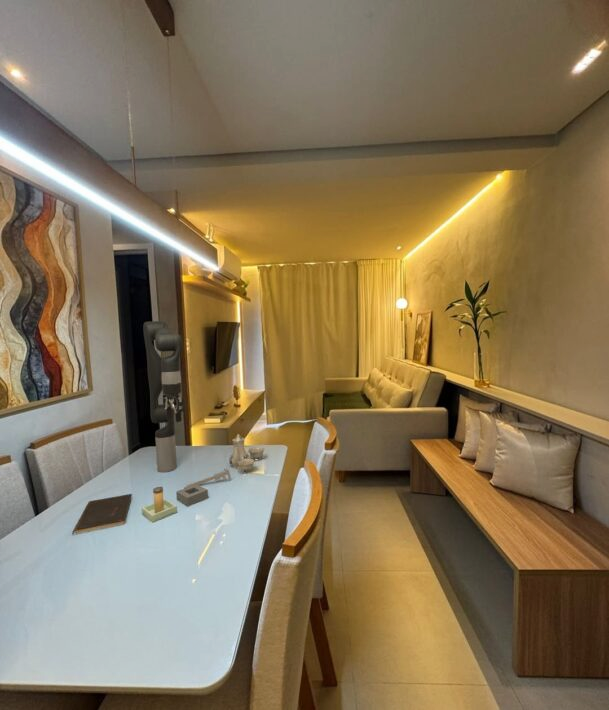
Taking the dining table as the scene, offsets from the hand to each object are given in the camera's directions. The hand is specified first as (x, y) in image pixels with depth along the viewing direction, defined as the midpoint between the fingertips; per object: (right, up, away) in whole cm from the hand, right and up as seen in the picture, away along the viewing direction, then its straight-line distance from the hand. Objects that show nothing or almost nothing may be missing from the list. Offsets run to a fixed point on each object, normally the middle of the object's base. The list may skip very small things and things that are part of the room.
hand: (173, 420), depth 145 cm
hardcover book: (-21, -34, -14) cm, 42 cm away
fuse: (0, -32, -15) cm, 35 cm away
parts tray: (0, -32, -15) cm, 36 cm away
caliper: (+11, -31, +10) cm, 35 cm away
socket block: (+9, -32, -4) cm, 33 cm away
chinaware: (+25, -30, +32) cm, 50 cm away
